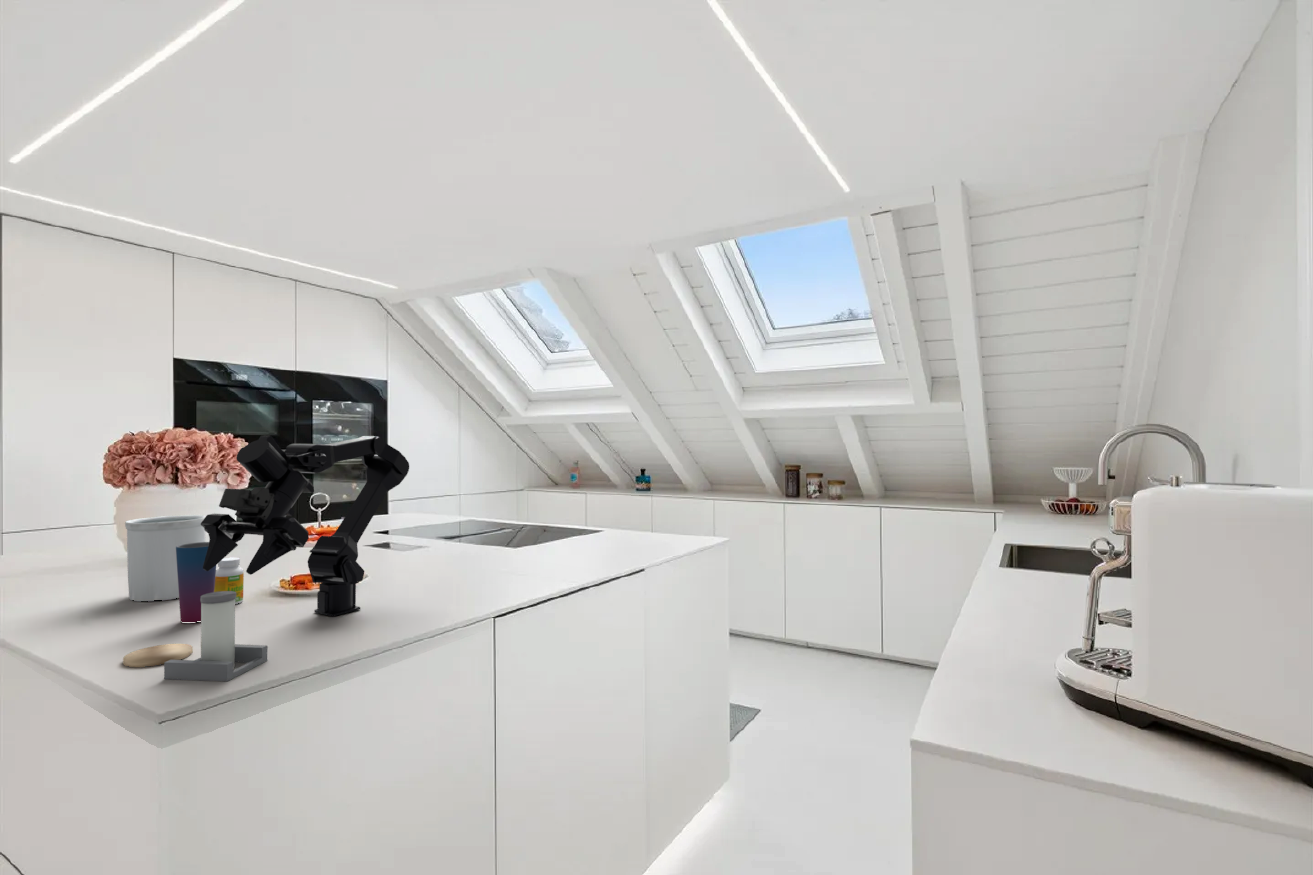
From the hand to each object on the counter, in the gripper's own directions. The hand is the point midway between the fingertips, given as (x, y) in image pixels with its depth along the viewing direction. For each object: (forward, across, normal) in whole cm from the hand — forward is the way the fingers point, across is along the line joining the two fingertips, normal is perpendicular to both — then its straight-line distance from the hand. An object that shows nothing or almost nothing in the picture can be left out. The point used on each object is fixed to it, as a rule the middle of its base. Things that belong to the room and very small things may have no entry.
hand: (226, 571), depth 107 cm
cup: (+2, -22, +19) cm, 29 cm away
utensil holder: (-8, -47, +29) cm, 56 cm away
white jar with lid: (+15, +6, +4) cm, 16 cm away
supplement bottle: (-6, -27, +28) cm, 39 cm away
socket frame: (+15, +6, +4) cm, 16 cm away
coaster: (+14, -8, +5) cm, 17 cm away
